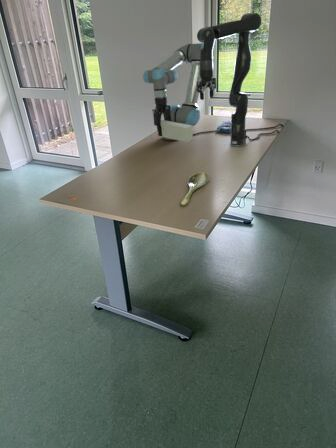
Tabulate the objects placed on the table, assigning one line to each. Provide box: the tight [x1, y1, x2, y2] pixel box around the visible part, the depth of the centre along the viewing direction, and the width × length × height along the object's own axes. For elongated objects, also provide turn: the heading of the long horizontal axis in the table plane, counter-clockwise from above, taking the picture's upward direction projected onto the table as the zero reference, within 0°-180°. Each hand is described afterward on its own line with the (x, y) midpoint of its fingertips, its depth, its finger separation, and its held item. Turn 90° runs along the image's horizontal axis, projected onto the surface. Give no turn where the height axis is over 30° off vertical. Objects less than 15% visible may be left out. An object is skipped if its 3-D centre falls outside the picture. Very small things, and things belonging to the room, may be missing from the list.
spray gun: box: [216, 120, 231, 134], centre depth 254 cm, size 21×4×15 cm
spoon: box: [180, 171, 210, 207], centre depth 170 cm, size 35×11×2 cm, turn 159°
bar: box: [156, 119, 194, 143], centre depth 208 cm, size 26×5×9 cm, turn 44°
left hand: (163, 134), depth 216 cm, fingers closed on bar, 5 cm apart
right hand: (206, 98), depth 198 cm, fingers open, 8 cm apart
